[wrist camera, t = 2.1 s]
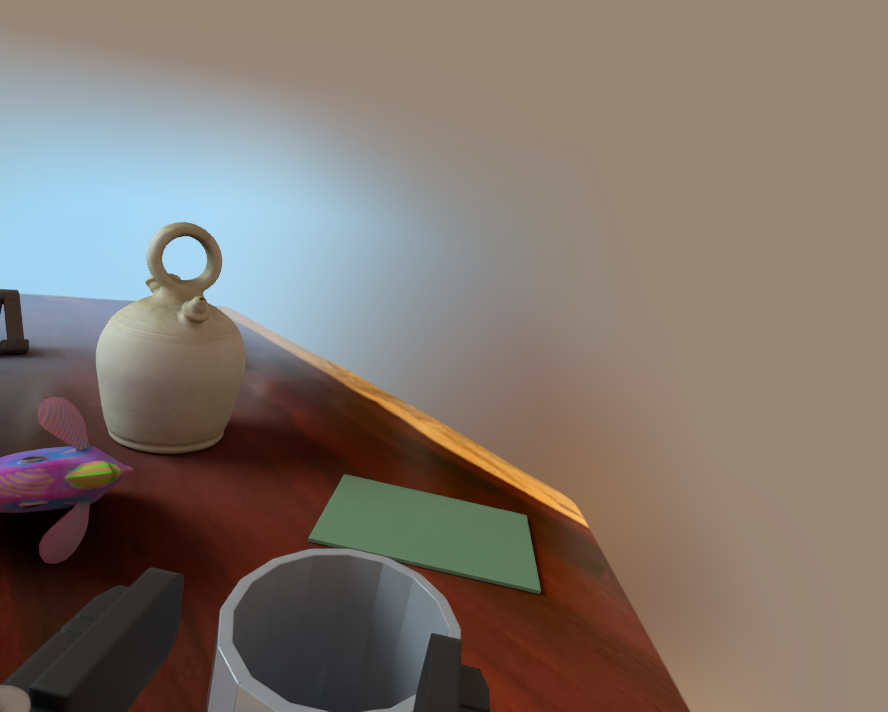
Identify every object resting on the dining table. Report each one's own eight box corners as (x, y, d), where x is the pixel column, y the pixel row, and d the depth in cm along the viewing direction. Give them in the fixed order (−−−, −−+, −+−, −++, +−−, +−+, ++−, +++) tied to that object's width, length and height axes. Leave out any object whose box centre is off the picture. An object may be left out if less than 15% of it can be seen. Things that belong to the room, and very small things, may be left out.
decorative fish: (171, 383, 41) (-109, 389, 31) (178, 550, 40) (-114, 617, 29) (105, 408, 55) (-104, 418, 44) (108, 533, 53) (-108, 574, 43)
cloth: (525, 518, 63) (526, 515, 63) (540, 594, 50) (541, 590, 49) (343, 476, 63) (344, 473, 63) (307, 541, 50) (308, 537, 50)
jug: (101, 405, 68) (117, 205, 62) (232, 412, 75) (257, 231, 69) (77, 460, 55) (94, 211, 49) (239, 462, 61) (270, 243, 56)
